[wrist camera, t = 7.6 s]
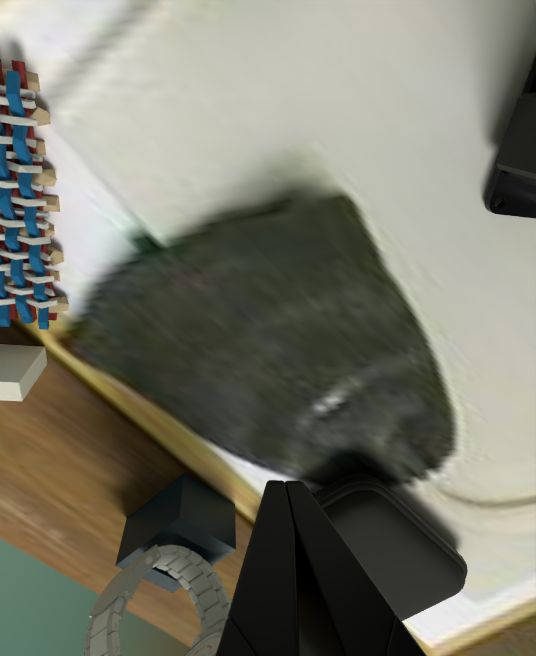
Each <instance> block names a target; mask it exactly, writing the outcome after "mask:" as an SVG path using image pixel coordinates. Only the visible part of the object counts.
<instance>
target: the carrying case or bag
mask: <svg viewBox="0 0 536 656" xmlns="http://www.w3.org/2000/svg"><path fill="white" fill-rule="evenodd" d="M313 497H314V498H315V500H316V501H317V502H318V504H319V505H320V507H321V508H322V509H323V511H324V512H325V514H326V515H327V516H328V518H329V519H330V521H331V522H332V524H333V525H334V526H335V528H336V529H337V531H338V532H339V533H340V535H341V536H342V538H343V539H344V541H345V542H346V543H347V545H348V546H349V548H350V549H351V550H352V552H353V553H354V555H355V556H356V558H357V559H358V560H359V562H360V563H361V565H362V566H363V567H364V569H365V570H366V572H367V573H368V574H369V576H370V577H371V579H372V580H373V582H374V583H375V584H376V586H377V587H378V589H379V590H380V591H381V593H382V594H383V596H384V597H385V599H386V600H387V601H388V603H389V604H390V606H391V607H392V608H393V610H394V611H395V615H397V616H398V617H399V618H400V620H401V621H403V620H405V619H407V618H409V617H411V616H413V615H415V614H417V613H419V612H422V611H424V610H426V609H428V608H430V607H432V606H434V605H436V604H438V603H440V602H442V601H444V600H446V599H448V598H450V597H452V596H454V595H456V594H457V593H459V592H460V591H461V589H462V588H463V587H464V584H465V578H466V576H467V564H466V562H465V561H464V559H463V557H462V556H461V555H460V554H459V553H458V552H457V551H456V550H455V549H454V548H453V547H452V546H451V545H450V544H448V543H447V542H446V541H445V540H444V539H443V538H442V537H441V536H440V535H439V534H438V533H437V532H436V531H435V530H433V529H432V528H431V527H430V526H429V525H428V524H427V523H426V522H425V521H424V520H423V519H422V518H421V517H419V516H418V515H417V514H416V513H415V512H414V511H413V510H412V509H411V508H410V507H409V506H408V505H407V504H406V503H405V502H403V501H402V500H401V499H400V498H399V497H398V496H397V495H396V494H395V493H394V492H393V491H392V490H391V489H390V488H388V487H387V486H386V485H385V484H384V483H383V482H381V481H380V480H378V479H377V478H375V477H372V476H368V475H366V474H363V473H352V474H348V475H346V476H344V477H342V478H340V479H339V480H337V481H335V482H334V483H332V484H331V485H329V486H327V487H326V488H324V489H322V490H321V491H319V492H318V493H316V494H314V495H313ZM395 615H394V616H395Z"/></svg>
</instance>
